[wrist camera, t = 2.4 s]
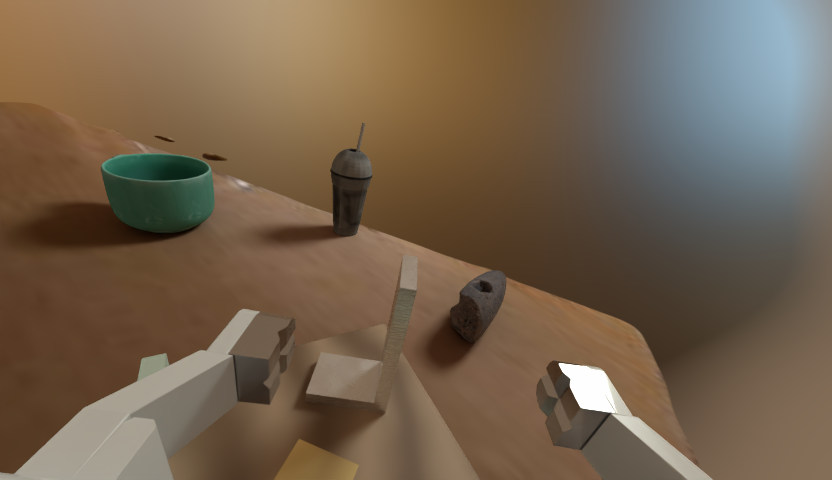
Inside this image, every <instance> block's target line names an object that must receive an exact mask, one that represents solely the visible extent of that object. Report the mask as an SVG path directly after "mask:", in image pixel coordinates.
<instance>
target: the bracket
mask: <svg viewBox="0 0 832 480" xmlns="http://www.w3.org/2000/svg"><path fill="white" fill-rule="evenodd" d="M416 291H417V257H413V256H408V255H403V258H402V262H401V267H400V272H399V277H398V281H397V286H396V291H395V295H394V300H393V305H392V309H391V314H390V319H389V323H388V328H387V333H386V337H385V342H384V347H383V351H382V356H381V361H375V360H368V359H362V358H355V357H349V356H342V355H336V354H329V353H323V352H321V354H320V356H319V359H318V362H317V364H316V367H315V370H314V372H313V375H312V378H311V381H310V383H309V386H308V389H307V391H306V398H305V402H310V403H317V404H324V405H331V406H338V407H345V408H352V409H360V410H367V411H374V412H381V413H386V410H387V406H388V402H389V398H390V394H391V390H392V386H393V382H394V378H395V374H396V370H397V366H398V362H399V358H400V354H401V351H402V347H403V343H404V339H405V335H406V331H407V327H408V323H409V319H410V315H411V311H412V307H413V303H414V299H415V295H416Z"/></svg>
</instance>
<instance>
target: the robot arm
mask: <svg viewBox="0 0 832 480" xmlns="http://www.w3.org/2000/svg"><path fill="white" fill-rule="evenodd" d="M294 329H295V319H294V318H292V317H286V316H281V315H276V314H271V313H265V312H258V311H253V310H248V309H242V310H240V311H239V312H237V314H236V315H235V316H234V317H233V319H232V320H231V321H230V322H229V323H228V325H227V326H226V327H225V328H224V330H223V331H222V332H221V333H220V334H219V336H218V337H217V338H216V339H215V340H214V342H213V343H212V344H211V345H210V347H209V348H208V349H207V350H206V351H202V350H200V351H198V352H196V353H194V354H192V355H190V356H188V357H186V358H184V359H182V360H180V361H178V362H175V363H173V364H171V365H169V366H167V367H165V368H163V369H161V370H159V371H157V372H155V373H153V374H151V375H149V376H147V377H145V378H143V379H141V380H139V381H137V382H135V383H133V384H131V385H129V386H127V387H125V388H123V389H121V390H119V391H117V392H115V393H113V394H111V395H109V396H107V397H105V398H103V399H101V400H99V401H97V402H95V403H93V404H91V405H89V406H87V407H85V408H83V409H82V410H81V411H80V412H79V413H78V414H77V415H76V416H75V417H74V418H73V419H72V420H71V421H70V422H69V423H67V424H66V425H65V426H64V427H63V428H62V429H61V430H60V431H59V432H58V433H57V434H56V435H55V436H54V437H53V438H52V439H51V440H50V441H48V442H47V443H46V444H45V445H44V446H43V447H42V448H41V449H40V450H39V451H38V452H37V453H36V454H35V455H34V456H33V457H32V458H31V459H29V460H28V461H27V462H26V463H25V464H24V465H23V466H22V467H21V468H20V469H19V470H18V471H17V472H16V473H15V474H8V473H0V480H174V479H173V475H172V472H171V469H170V466H169V463H168V459H169V458H170V457H172V456H173V455H174V454H175V453H177V452H178V451H179V450H180V449H182V448H183V447H184V446H185V445H187V444H188V443H189V442H190V441H192V440H193V439H194V438H195V437H197V436H198V435H199V434H200V433H202V432H203V431H204V430H205V429H207V428H208V427H209V426H210V425H212V424H213V423H214V422H215V421H217V420H218V419H219V418H220V417H222V416H223V415H224V414H225V413H227V412H228V411H229V410H230V409H232V408H233V407H234V406H235V405H237V404H238V401H239V402H248V403H256V404H265V405H270V404H271V402H272V400H273V397H274V395H275V393H276V391H277V389H278V387H279V385H280V374H282V373H283V372H285V371H286V370H287V368H288V366H289V364H290V362H291V358H292V355H293V352H294V347H295V338H294V336H293V335H292V333H293V331H294ZM546 369H547V372H548V374H547V375H545V376H543V377H541V378H540V380H539V382H538V384H537V392H536V395H537V401H538V404H539V407H540V409H541V410H542V411H543V412H544V413H545V414H546V416H547V419H546V422H545V423H546V426H547V429H548V431H549V434H550V437H551V440H552V442H553V445H554V446H560V447H565V448H571V449H577V450H581V453H582V454H583V455H584V457H585V458H586V459H587V460H588V462H589V463H590V464H591V465H592V467H593V468H594V469H595V470H596V472H597V473H598V474H599V475H600V476H601V478H602V479H603V480H713V479H711V478H710V477H709V476H708V475H707V474H705V473H704V472H703V471H702V470H701V469H699V468H698V467H697V466H696V465H695V464H693V463H692V462H691V461H690V460H689V459H687V458H686V457H685V456H684V455H683V454H681V453H680V452H679V451H678V450H677V449H675V448H674V447H673V446H672V445H670V444H669V443H668V442H667V441H666V440H664V439H663V438H662V437H661V436H660V435H658V434H657V433H656V432H655V431H654V430H652V429H651V428H650V427H649V426H648V425H646V424H645V423H644V422H643V421H642V420H640V419H639V418H638V417H633V416H632V414H631V413H630V411H629V410H628V408H627V406H626V405H625V403H624V402H623V400H622V399H621V397H620V396H619V394H618V392H617V391H616V389H615V388H614V386H613V385H612V383H611V382H610V380H609V378H608V377H607V375H606V374H605V372H604V371H603V370H602V369H600V368H599V367H593V366H586V365H579V364H573V363H567V362H560V361H552V362H550V363H549V365H548V366H547V368H546Z"/></svg>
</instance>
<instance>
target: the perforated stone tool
mask: <svg viewBox="0 0 832 480" xmlns="http://www.w3.org/2000/svg"><path fill="white" fill-rule="evenodd" d="M505 290H506V277H505V275H504V273H502V272H501V271H489V272H486V273H484V274H482V275H480V276H478V277H476V278H475V279H473V280H472V281H470V282H469V283H468V284H467V285H466V286H465V287H464V288H463V289H462V290H461V291H460V301H459V303H458V304H457V305H455V306H454V307H452V308H451V310H450V313H451V319H452V323H451V325H452V328H454V329H455V330H456V331H457V332H458V333H459V334H461V335H462V337H463V338H464V339H465V340H466V341H467V342H470V343H473V342H475V341H476V340H477V339H478V338H479V337H480V336H481V335H482V334H483V333H484V331H485V330H486V329H487V327H488V326H489V325H490V323H491V322H492V320H493V319H494V317H495V316H496V314H497V312H498V310H499V308H500V306H501V304H502V301H503V298H504V295H505Z"/></svg>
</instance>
